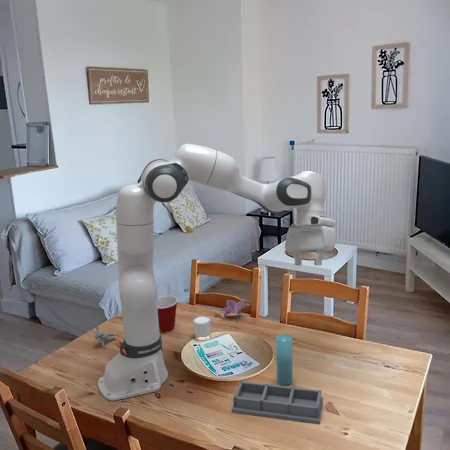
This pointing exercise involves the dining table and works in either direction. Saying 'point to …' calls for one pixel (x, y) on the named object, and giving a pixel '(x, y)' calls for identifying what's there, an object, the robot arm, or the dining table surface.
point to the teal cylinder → (284, 360)
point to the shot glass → (202, 326)
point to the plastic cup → (167, 312)
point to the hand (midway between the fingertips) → (307, 265)
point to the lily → (234, 307)
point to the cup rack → (278, 402)
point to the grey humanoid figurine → (103, 337)
